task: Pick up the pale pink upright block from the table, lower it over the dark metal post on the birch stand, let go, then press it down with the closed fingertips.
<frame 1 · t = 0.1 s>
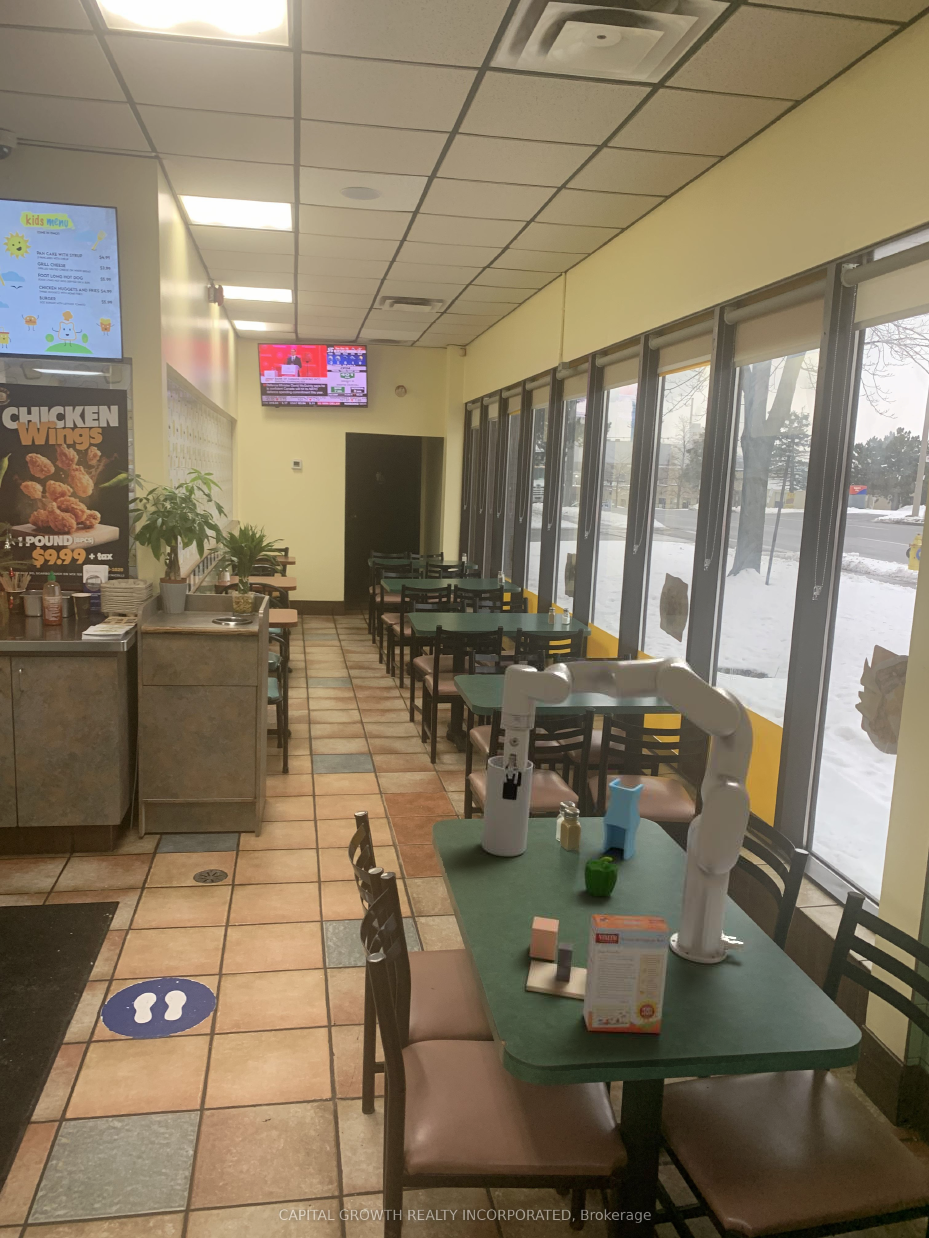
hand: (511, 792, 204), 31 cm above the table, tool pointing down, fingers open, 9 cm apart
pale pink upright block: (543, 952, 195), on the table
bell pepper: (598, 893, 227), on the table
post: (562, 982, 184), on the table
vase: (618, 852, 254), on the table
cracker box: (620, 1024, 171), on the table
cylinder vase: (503, 849, 251), on the table
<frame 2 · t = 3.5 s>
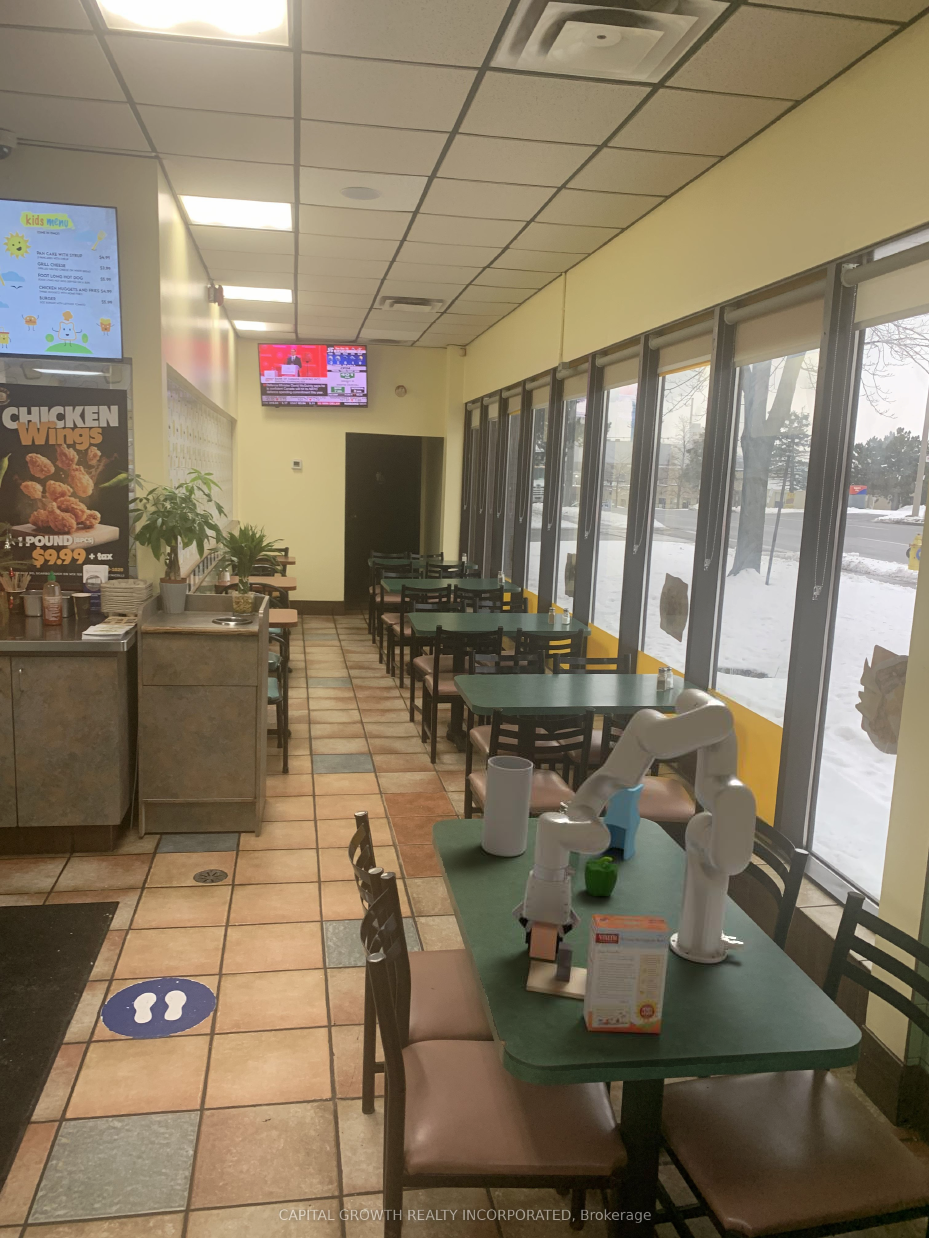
hand: (543, 947, 195), 1 cm above the table, tool pointing down, fingers closed on pale pink upright block, 5 cm apart
pale pink upright block: (543, 952, 195), on the table, touching gripper
everything else where it was.
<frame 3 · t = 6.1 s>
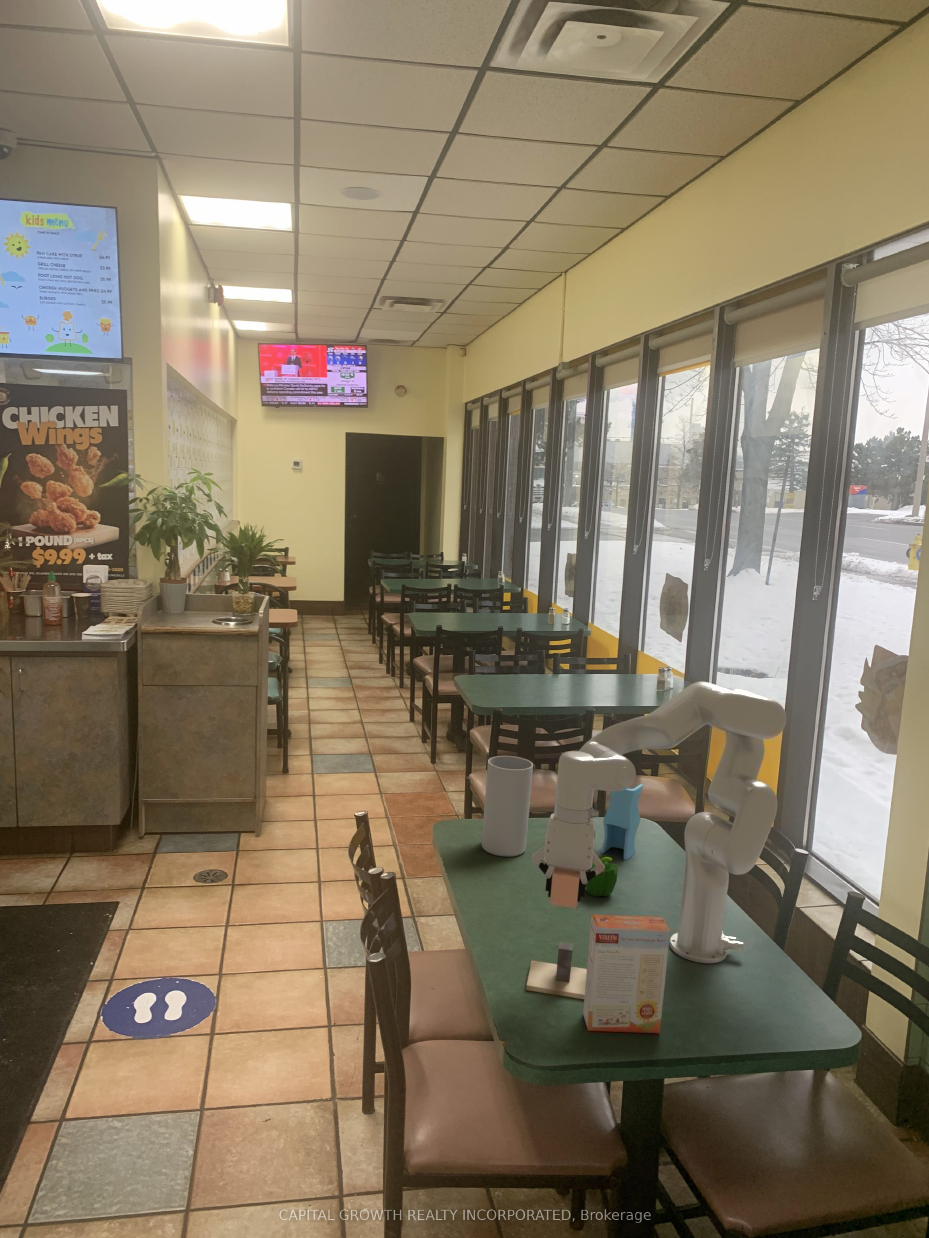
hand: (564, 895, 184), 18 cm above the table, tool pointing down, fingers closed on pale pink upright block, 5 cm apart
pale pink upright block: (564, 900, 184), point 16 cm above the table, touching gripper
everything else where it was.
when the fingers open (4 cm above the table, at t = 9.0 s): pale pink upright block stays where it is, resting on post.
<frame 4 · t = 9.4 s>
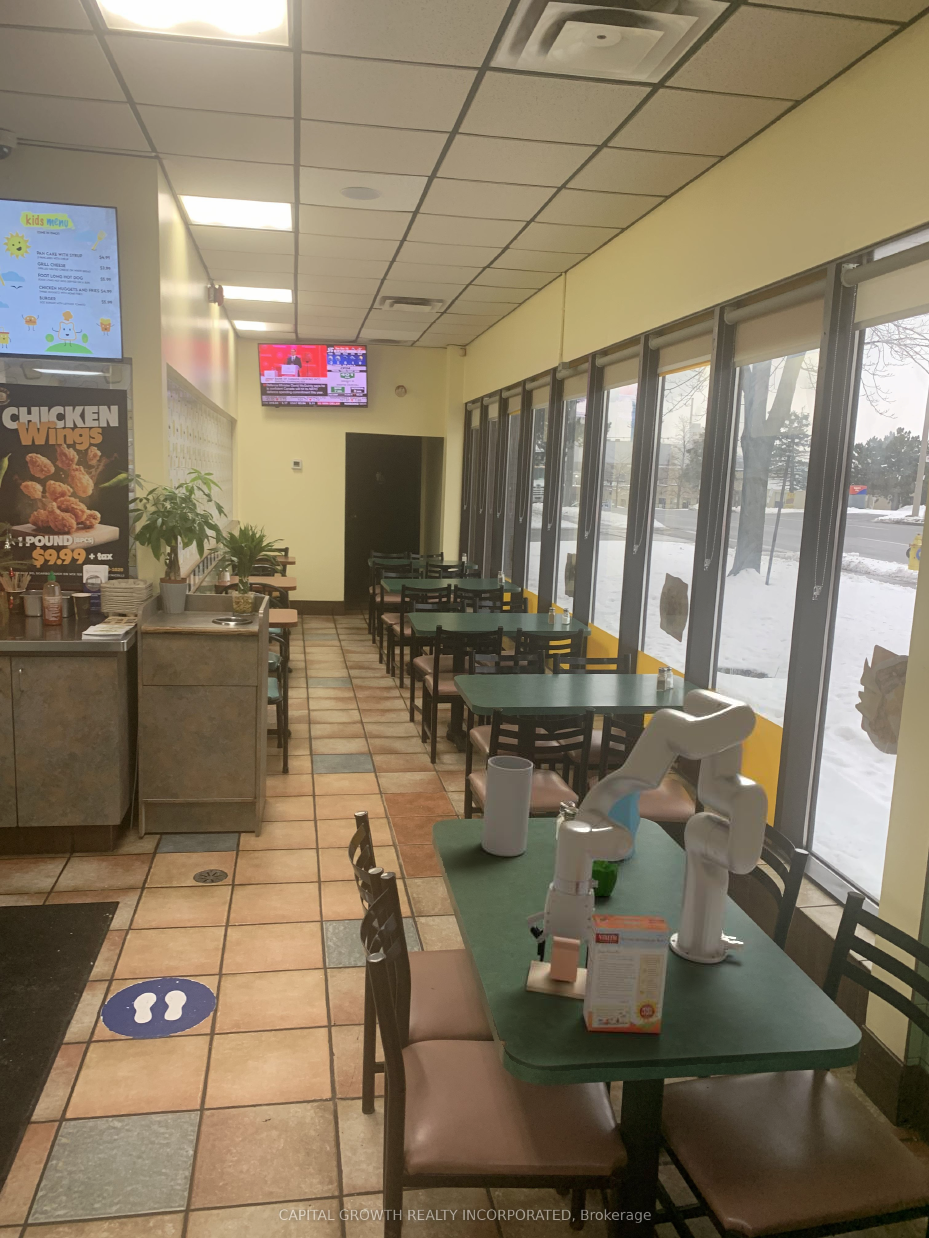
hand: (564, 961, 183), 5 cm above the table, tool pointing down, fingers open, 9 cm apart
pale pink upright block: (563, 973, 184), point 2 cm above the table, touching post
everything else where it was.
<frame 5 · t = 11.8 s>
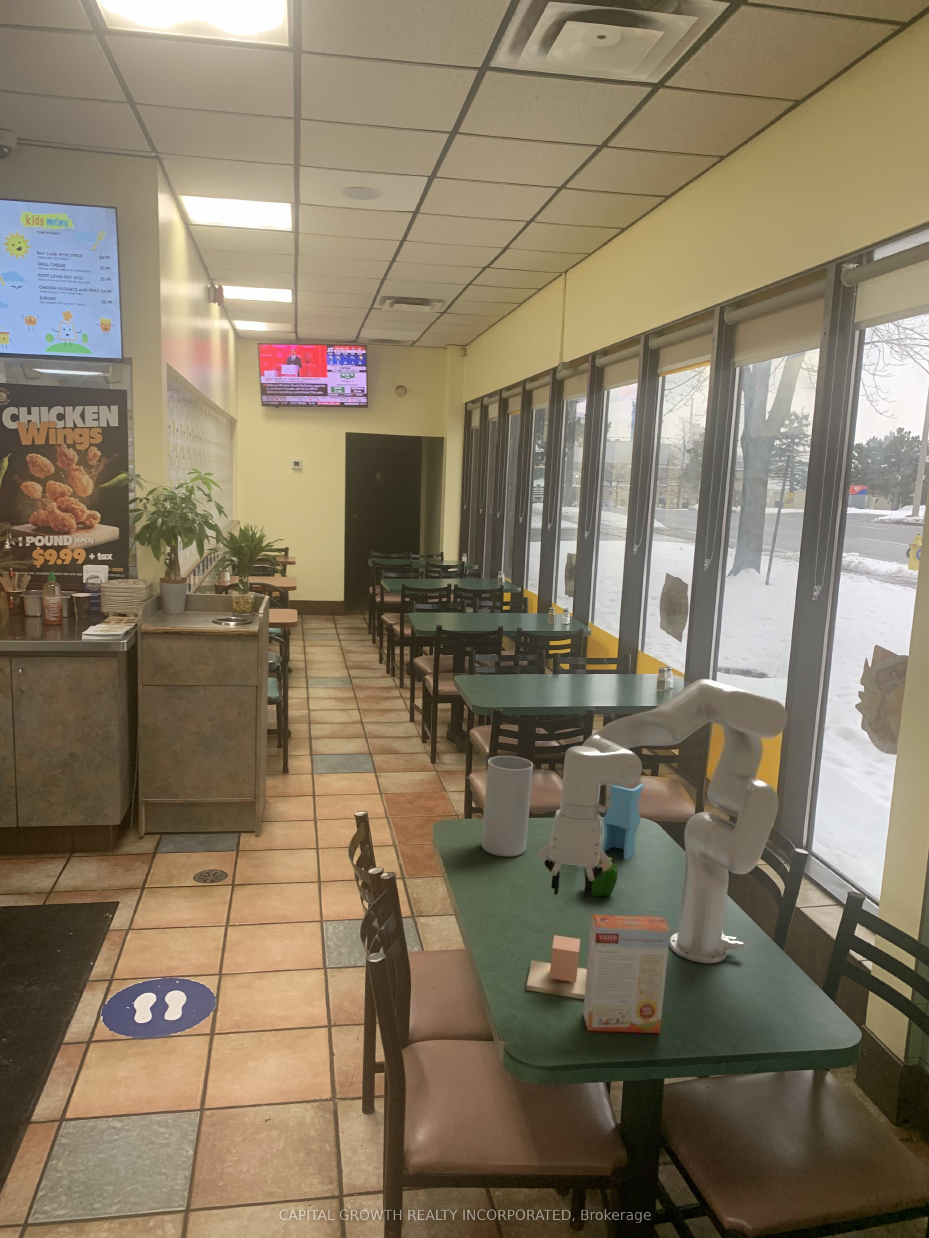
hand: (571, 893, 181), 19 cm above the table, tool pointing down, fingers open, 5 cm apart
nothing on the table moved.
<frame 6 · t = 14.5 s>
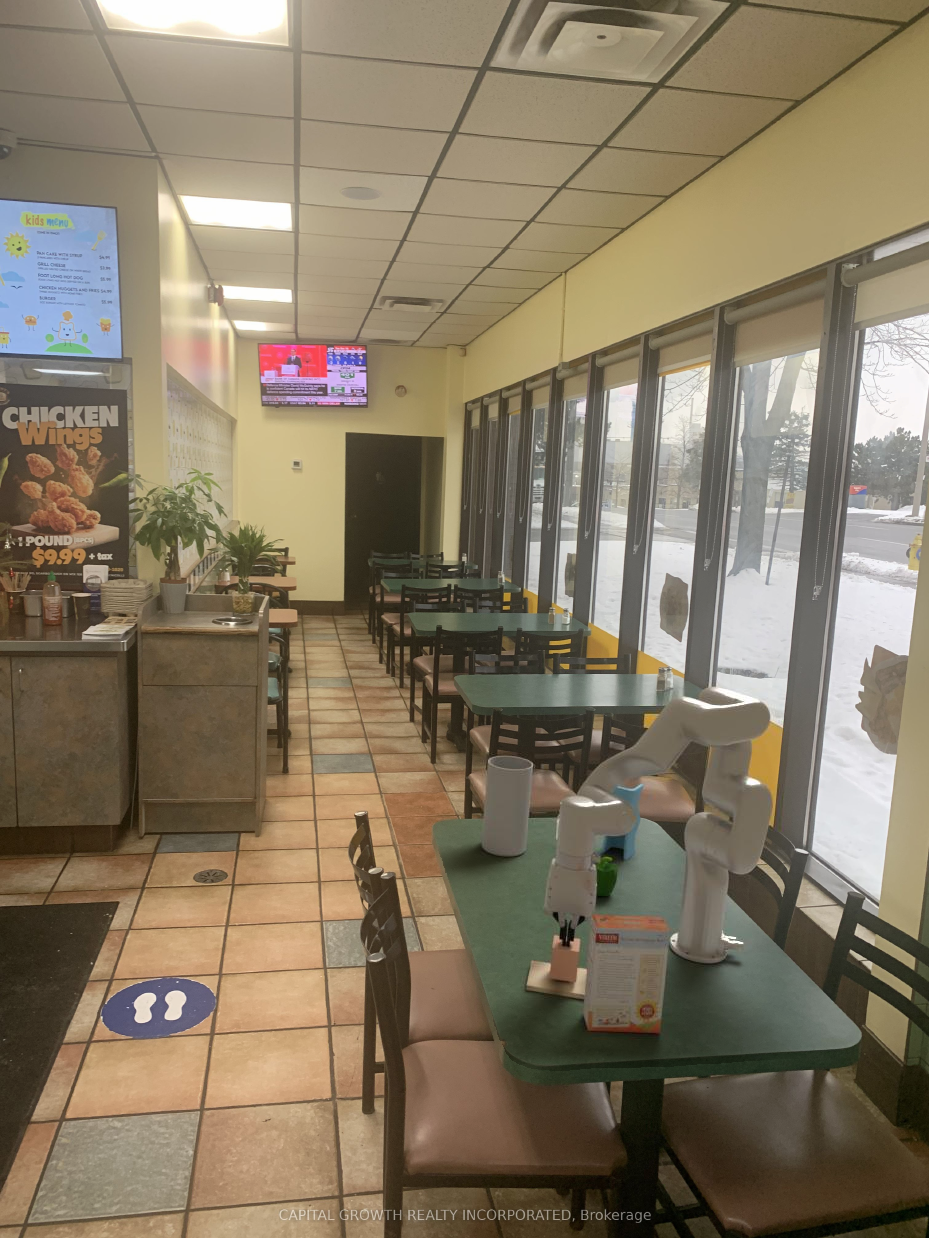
hand: (566, 943, 183), 9 cm above the table, tool pointing down, fingers closed
pale pink upright block: (563, 973, 184), point 2 cm above the table, touching gripper, post
everything else where it was.
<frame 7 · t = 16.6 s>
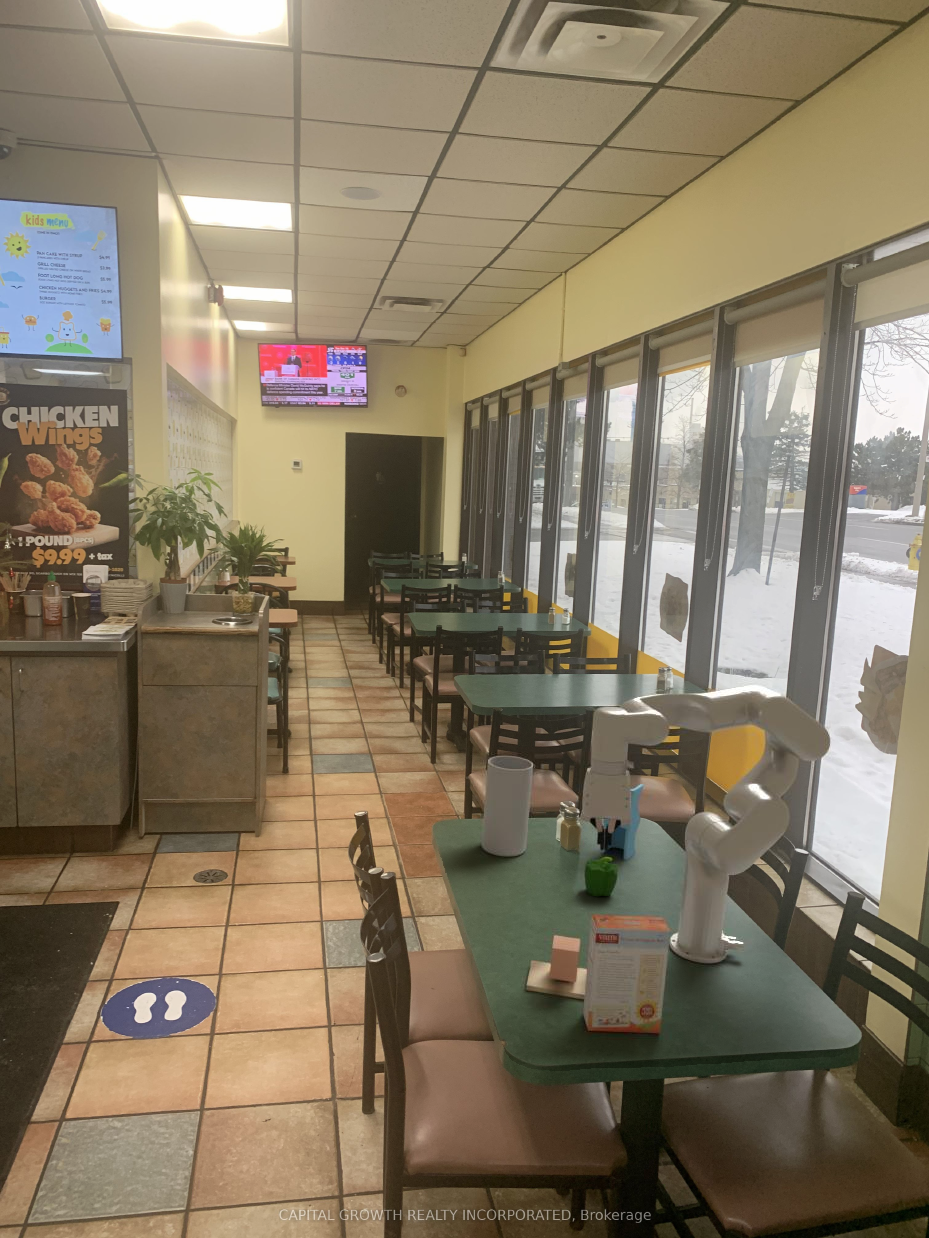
hand: (603, 847, 192), 25 cm above the table, tool pointing down, fingers closed
pale pink upright block: (563, 973, 184), point 2 cm above the table, touching post
everything else where it was.
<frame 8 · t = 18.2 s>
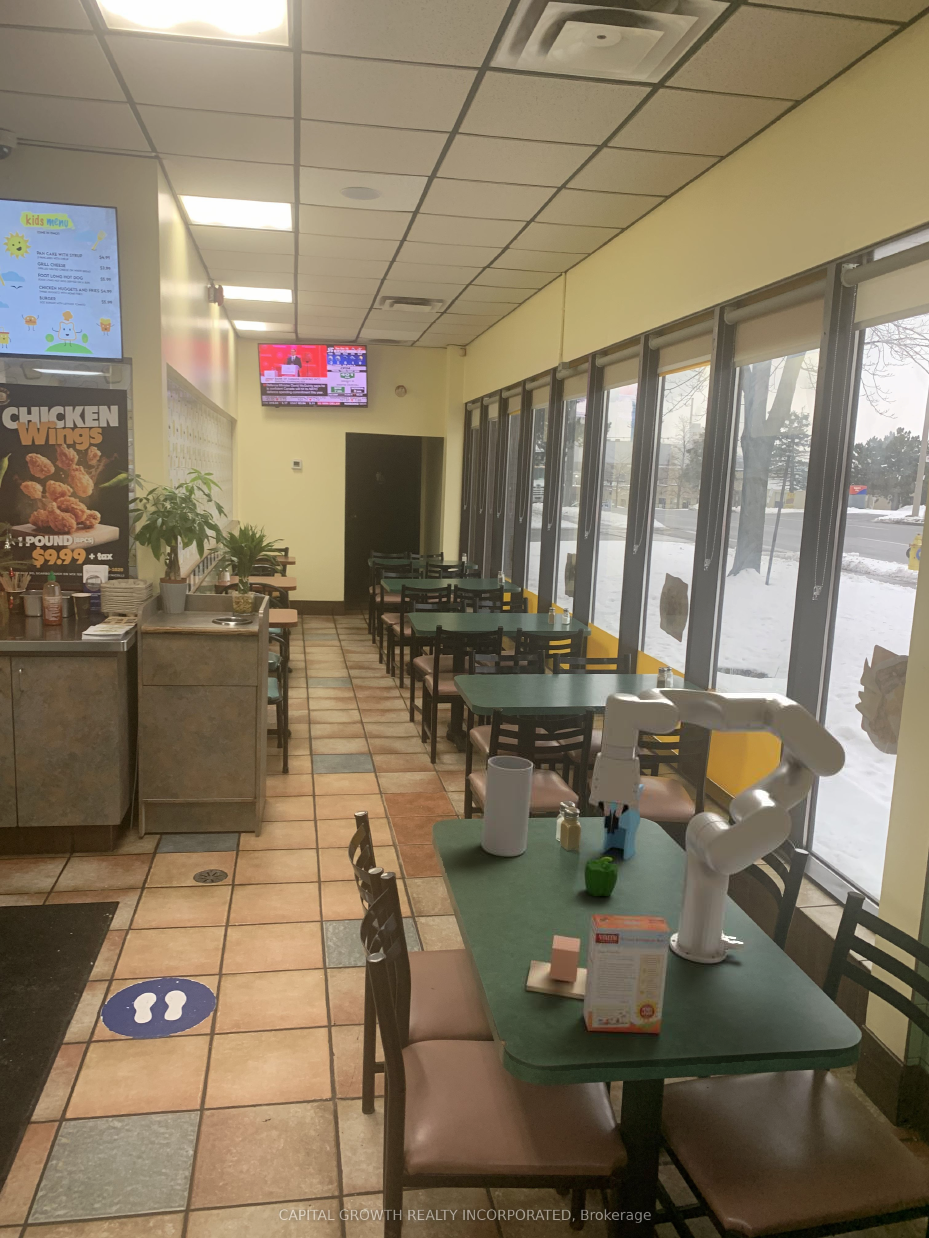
hand: (610, 831, 195), 27 cm above the table, tool pointing down, fingers closed
nothing on the table moved.
at the end: pale pink upright block 0.0 cm from the post (horizontally); pale pink upright block point 2.0 cm above the table; pale pink upright block tilted 0° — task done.
